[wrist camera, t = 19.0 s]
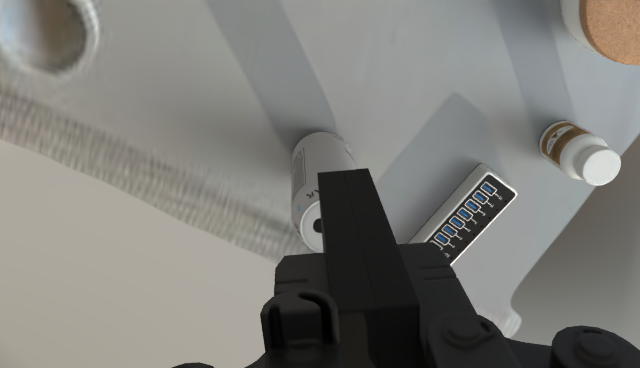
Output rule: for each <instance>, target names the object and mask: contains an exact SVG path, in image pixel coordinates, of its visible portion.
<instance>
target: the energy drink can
mask: <svg viewBox="0 0 640 368" xmlns="http://www.w3.org/2000/svg"><path fill="white" fill-rule="evenodd" d="M354 169H356V166H355V163H354V159H353V156H352V153H351V151H350V148H349V146H348V145H347V143H346V142H345V141H344V140H343V139H342V138H340V137H339V136H337V135H335V134H333V133H329V132H316V133H312V134H310V135H307V136H306V137H304V138H303V139H302V140H301V141H300V142H299V143H298V144H297V145H296V147H295V149H294V151H293V154H292V212H291V214H292V224H293V228H294V230H295V232H296V234H297V235H298V236H299V238H300V239H301V240H302V241H303V242H305V243H306V245H307V246H308V247H309V248H311V249H312V250H314V251H315V252H318V253H323V240H322V228H321V215H320V202H319V189H318V177H317V173H318V172H330V171H342V170H354Z"/></svg>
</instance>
